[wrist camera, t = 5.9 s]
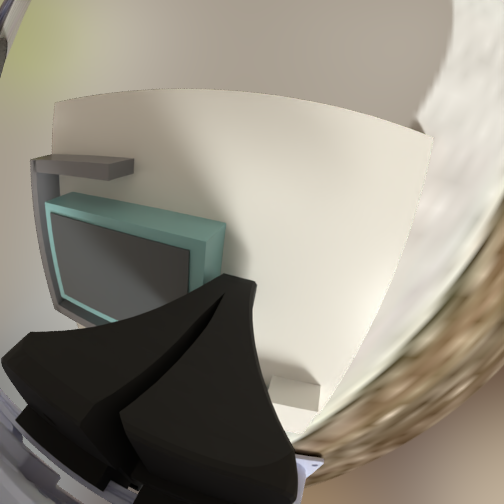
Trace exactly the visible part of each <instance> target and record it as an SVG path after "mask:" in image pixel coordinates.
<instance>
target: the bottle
mask: <svg viewBox="0 0 504 504" xmlns="http://www.w3.org/2000/svg"><path fill="white" fill-rule="evenodd" d="M6 50H7V41H6V39H5V38H0V76H1V73H2V69H3V66H4V62H5V57H6Z"/></svg>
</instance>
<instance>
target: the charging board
mask: <svg viewBox="0 0 504 504" xmlns="http://www.w3.org/2000/svg"><path fill="white" fill-rule="evenodd" d="M52 134H53V135H52V154H51V155H47V156H43V157H39V158H35V159H31V160H30V162H31V186H32V198H33V209H34V217H35V224H36V231H37V237H38V243H39V249H40V253H41V259H42V263H43V268H44V272H45V276H46V280H47V284H48V288H49V291H50V295H51V298H52V301H53V305H54V308H55V310H57V311H59V312H60V313H62V314H64V315H65V316H67V317H69V318H70V319H72V320H74V321H76V322H77V325H78V328H79V329H82V328H88V327H94V326H99V325H104V324H108V323H112V322H110V321H108V320H105V319H103V318H101V317H99V316H97V315H95V314H93V313H91V312H89V311H87V310H85V309H84V308H82V307H80V306H78V305H76V304H74V303H72V302H70V301H69V300H67V299H65V298H63V297H62V296H61V293H60V289H59V285H58V281H57V276H56V272H55V267H54V262H53V257H52V252H51V246H50V240H49V234H48V227H47V219H46V210H45V202H46V201H49V200H51V199H54V198H57V197H59V196H62V195H65V194H67V193H70V192H77V193H82V194H87V195H93V196H98V197H103V198H109V199H114V200H119V201H124V202H129V203H134V204H139V205H144V206H149V207H154V208H159V209H164V210H169V211H173V212H178V213H183V214H188V215H192V216H197V217H202V218H206V219H211V220H215V221H220V222H224V223H226V229H225V238H224V247H223V256H222V265H221V274H223V273H225V274H229V275H233V276H237V277H241V278H244V279H248V280H252V281H255V282H256V284H257V289H256V294H255V300H254V305H253V330H254V338H255V345H256V350H257V355H258V360H259V364H260V368H261V371H262V375H263V378H264V381H265V384H266V387H267V390H268V393H269V396H270V399H271V402H272V404H273V406H274V409H275V411H276V414H277V416H278V418H279V421H280V423H281V425H282V427H283V429H284V431H288V432H293V433H299V434H303V433H304V432H305V430H306V429H307V427H308V426H309V425H310V423H311V422H312V420H313V419H314V417H315V416H316V414H320V413H321V411H322V410H323V408H324V407H325V405H326V404H327V402H328V400H329V399H330V397H331V396H332V394H333V393H334V391H335V389H336V388H337V386H338V385H339V383H340V381H341V380H342V378H343V376H344V375H345V373H346V371H347V370H348V368H349V366H350V364H351V363H352V361H353V359H354V357H355V355H356V354H357V352H358V350H359V348H360V346H361V344H362V342H363V340H364V339H365V337H366V335H367V333H368V331H369V329H370V327H371V325H372V323H373V321H374V319H375V316H376V314H377V312H378V310H379V308H380V306H381V304H382V301H383V299H384V297H385V295H386V292H387V290H388V288H389V285H390V283H391V281H392V278H393V276H394V273H395V271H396V268H397V266H398V263H399V260H400V258H401V255H402V252H403V250H404V247H405V244H406V241H407V238H408V236H409V233H410V230H411V227H412V224H413V220H414V217H415V214H416V211H417V207H418V204H419V200H420V197H421V193H422V189H423V186H424V182H425V178H426V174H427V170H428V165H429V161H430V156H431V151H432V146H433V141H434V138H433V137H431V136H428V135H426V134H423V133H421V132H418V131H415V130H413V129H410V128H407V127H404V126H402V125H399V124H396V123H393V122H390V121H386V120H384V119H381V118H377V117H374V116H371V115H367V114H363V113H360V112H356V111H353V110H349V109H345V108H341V107H336V106H332V105H328V104H323V103H318V102H313V101H308V100H303V99H297V98H291V97H285V96H278V95H271V94H263V93H254V92H244V91H231V90H216V89H153V90H137V91H126V92H116V93H107V94H99V95H92V96H86V97H80V98H75V99H69V100H65V101H60V102H55V106H54V118H53V133H52ZM221 274H220V275H221Z"/></svg>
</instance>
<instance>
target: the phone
mask: <svg viewBox="0 0 504 504" xmlns="http://www.w3.org/2000/svg"><path fill="white" fill-rule="evenodd" d="M45 210H46V219H47V227H48V234H49V240H50V246H51V252H52V257H53V262H54V267H55V272H56V276H57V281H58V285H59V289H60V293H61V296H62V297H63V298H65V299H67V300H69V301H70V302H72V303H74V304H76V305H78V306H80V307H82V308H84V309H85V310H87V311H89V312H91V313H93V314H95V315H97V316H99V317H101V318H103V319H105V320H108V321H110V322H116V321H120V320H123V319H127V318H131V317H134V316H137V315H140V314H142V313H145V312H148V311H151V310H153V309H156V308H158V307H161V306H163V305H165V304H167V303H169V302H171V301H173V300H176V299H178V298H180V297H182V296H184V295H186V294H188V293H189V292H191V291H193V290H195V289H197V288H199V287H200V286H202V285H204V284H206V283H207V282H209V281H211V280H213V279H214V278H216V277H218V276H220V274H221V265H222V256H223V247H224V238H225V229H226V223H224V222H220V221H215V220H211V219H206V218H202V217H197V216H192V215H188V214H183V213H178V212H173V211H169V210H164V209H159V208H154V207H149V206H144V205H139V204H134V203H129V202H124V201H119V200H114V199H109V198H103V197H98V196H93V195H87V194H82V193H77V192H70V193H67V194H65V195H62V196H59V197H57V198H54V199H51V200H49V201H46V202H45Z"/></svg>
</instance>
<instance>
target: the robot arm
mask: <svg viewBox="0 0 504 504" xmlns="http://www.w3.org/2000/svg"><path fill="white" fill-rule="evenodd" d="M256 289H257V284H256V282H255V281H252V280H248V279H244V278H241V277H237V276H233V275H229V274H225V273H223V274H221V275H220V276H218V277H216V278H214V279H213V280H211V281H209V282H207V283H206V284H204V285H202V286H200V287H199V288H197V289H195V290H193V291H191V292H189V293H188V294H186V295H184V296H182V297H180V298H178V299H176V300H173V301H171V302H169V303H167V304H165V305H163V306H161V307H158V308H156V309H153V310H151V311H148V312H145V313H142V314H140V315H137V316H134V317H131V318H127V319H123V320H120V321H116V322H112V323H108V324H104V325H99V326H94V327H88V328H82V329H75V330H67V331H49V332H30V333H28V334H27V335H26V336H25V337H24V338H23V339H22V340H21V341H20V342H18V343H17V344H16V345H15V346H14V347H13V348H12V349H11V350H10V351H9V352H8V353H7V354H5V355H4V356H3V357H2V358H1V363H2V367H3V369H4V371H5V372H6V374H7V376H8V377H9V379H10V380H11V382H12V383H13V385H14V386H15V387H16V389H17V390H18V392H19V393H20V395H21V396H22V397H23V399H24V400H25V401H26V402H27V404H28V405H27V406H26V408H25V409H24V410H23V411H21V410H20V409H19V408H18V407H17V406H16V405H15V404H14V403H13V402H12V401H11V400H10V398H8V396H7V395H6V394H5V393H4V392H3V391H2V390H1V388H0V504H84V503H82V502H81V501H79V500H77V499H76V498H74V497H73V496H72V495H70V494H69V493H68V492H66V491H65V490H63V489H62V488H61V487H59V486H58V485H57V482H58V481H59V480H60V475H59V474H57V473H56V472H55V471H54V470H53V469H52V468H51V467H50V466H48V465H47V464H46V463H45V462H44V461H42V460H41V459H40V458H39V457H38V456H37V455H35V454H34V453H33V452H32V451H31V450H30V449H29V448H28V447H26V446H25V445H24V444H23V441H22V440H23V437H22V435H23V436H24V437H25V438H26V439H28V441H29V442H30V443H32V444H33V445H34V446H35V447H36V448H37V449H38V450H39V451H40V452H41V453H42V454H44V455H45V456H46V457H47V458H48V459H49V460H51V461H52V462H53V463H54V464H55V465H57V466H58V467H59V468H60V469H62V470H63V471H64V472H66V473H67V474H68V475H70V476H71V477H72V478H74V479H75V480H76V481H78V482H79V483H81V484H82V485H84V486H85V487H87V488H88V489H90V490H91V491H93V492H94V493H96V494H97V495H99V496H100V497H102V498H104V499H106V500H107V501H109V502H111V503H112V504H301V499H302V495H303V490H304V484H305V479H306V478H307V477H308V476H309V475H311V474H312V473H313V472H314V471H315V470H317V469H318V468H319V467H320V466H321V465H322V464H323V463H324V459H323V458H319V457H311V456H304V455H298V454H295V451H294V448H293V446H292V444H291V442H290V441H289V439H288V437H287V435H286V433H285V431H284V429H283V427H282V425H281V423H280V421H279V418H278V416H277V414H276V411H275V409H274V406H273V404H272V402H271V399H270V396H269V393H268V390H267V387H266V384H265V381H264V378H263V375H262V371H261V368H260V364H259V360H258V355H257V350H256V345H255V338H254V330H253V305H254V300H255V294H256ZM128 487H131V488H133V489H135V490H137V491H139V490H140V491H139V493H138V494H136V493H134V492H132V491H130V490H128Z"/></svg>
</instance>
